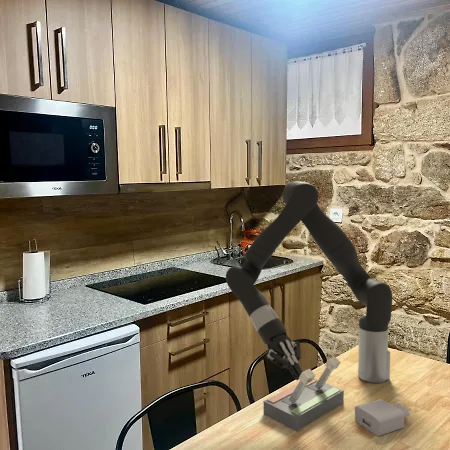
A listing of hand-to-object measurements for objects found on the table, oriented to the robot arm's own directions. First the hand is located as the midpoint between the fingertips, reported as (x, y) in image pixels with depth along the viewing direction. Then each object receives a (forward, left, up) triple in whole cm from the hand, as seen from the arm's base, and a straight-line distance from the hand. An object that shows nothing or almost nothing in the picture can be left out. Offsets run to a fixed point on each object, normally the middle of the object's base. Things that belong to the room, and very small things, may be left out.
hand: (300, 378), depth 121 cm
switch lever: (+2, -3, -8) cm, 9 cm away
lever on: (-9, -9, -8) cm, 15 cm away
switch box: (-4, -6, -12) cm, 14 cm away
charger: (-23, +6, -13) cm, 27 cm away
